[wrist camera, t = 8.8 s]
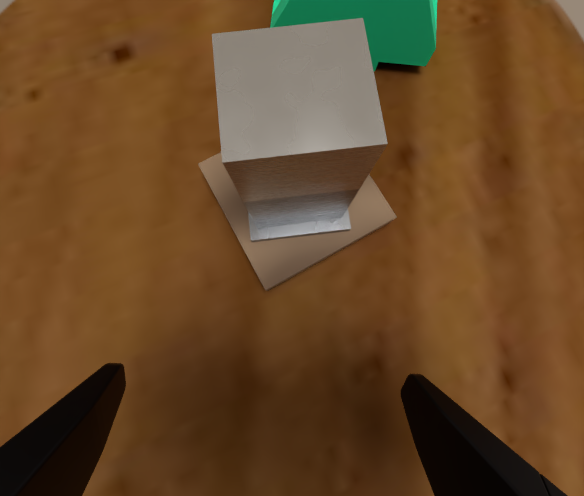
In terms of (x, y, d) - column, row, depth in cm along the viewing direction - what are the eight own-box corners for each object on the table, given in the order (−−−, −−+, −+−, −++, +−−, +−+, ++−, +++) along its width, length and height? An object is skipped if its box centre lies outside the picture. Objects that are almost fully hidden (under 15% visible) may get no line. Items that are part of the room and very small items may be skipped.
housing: (349, 230, 18) (406, 163, 9) (252, 242, 18) (208, 185, 9) (335, 141, 20) (373, -1, 10) (243, 152, 19) (196, 18, 10)
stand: (389, 223, 20) (396, 217, 19) (267, 290, 19) (265, 290, 18) (319, 114, 22) (321, 101, 20) (204, 173, 21) (198, 163, 19)
